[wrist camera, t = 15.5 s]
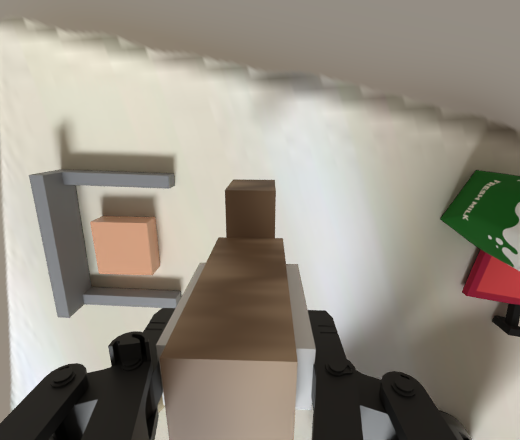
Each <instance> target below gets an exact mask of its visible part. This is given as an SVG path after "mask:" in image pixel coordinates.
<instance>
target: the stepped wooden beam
mask: <svg viewBox="0 0 520 440" xmlns="http://www.w3.org/2000/svg"><path fill="white" fill-rule="evenodd" d="M275 197H276V189H275V180H233V181H232V182H231V183H230V185H229V186H228V187H227V188H226V190H225V203H226V234H227V238H220V237H219V238H218V240H217V242H216V244H215V246H214V248H213V250H212V252H211V254H210V256H209V258H208V260H207V262H206V264H205V266H204V268H203V270H202V272H201V274H200V276H199V278H198V281H197V283H196V285H195V287H194V289H193V291H192V293H191V295H190V297H189V299H188V301H187V303H186V305H185V307H184V309H183V311H182V313H181V315H180V317H179V319H178V321H177V323H176V325H175V327H174V329H173V331H172V333H171V335H170V337H169V340H168V342H167V344H166V346H165V348H164V350H163V352H162V354H161V356H160V358H159V359H160V367H161V376H162V384H163V392H164V400H165V408H166V417H167V425H168V433H169V440H294V423H295V403H296V384H297V364H298V361H297V353H296V344H295V336H294V328H293V319H292V311H291V303H290V294H289V286H288V278H287V270H286V261H285V253H284V245H283V238H275Z"/></svg>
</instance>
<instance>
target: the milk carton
mask: <svg viewBox="0 0 520 440" xmlns="http://www.w3.org/2000/svg"><path fill="white" fill-rule="evenodd" d="M441 220H442V221H443V222H445V223H446V224H447V225H449V226H450V227H451V228H453V229H454V230H455V231H457V232H458V233H459V234H460V235H462V236H463V237H464V238H466V239H467V240H468V241H469V242H471V243H472V244H473V245H475V246H476V247H478V248H479V249H481V250H483V251H484V252H486V253H488V254H489V255H491V256H493V257H495V258H497V259H498V260H500V261H502V262H504V263H506V264H507V265H509V266H511V267H513V268H515V269H517V270H518V271H520V176H515V175H508V174H501V173H493V172H486V171H479V170H476V171H475V172H474V174H473V175H472V176H471V178H470V179H469V181H468V182H467V183H466V185H465V186H464V187H463V189H462V190H461V191H460V193H459V194H458V195H457V197H456V198H455V200H454V201H453V202H452V204H451V205H450V206H449V208H448V209H447V210H446V212H445V213H444V215H443V216H442V217H441Z"/></svg>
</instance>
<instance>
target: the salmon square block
mask: <svg viewBox="0 0 520 440" xmlns="http://www.w3.org/2000/svg"><path fill="white" fill-rule="evenodd" d="M90 224H91V230H92V235H93V241H94V247H95V253H96V259H97V265H98V271H99V274H129V275H153V274H154V273H155V271H156V270H157V269H158V268H159V267H160V259H159V250H158V240H157V230H156V220H155V217H125V216H102V217H100V218H98V219H95V220H93V221H91V222H90Z"/></svg>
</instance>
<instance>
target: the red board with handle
mask: <svg viewBox="0 0 520 440" xmlns="http://www.w3.org/2000/svg"><path fill="white" fill-rule="evenodd" d="M462 293H464V294H465V295H466V296H470V297H476V298H481V299H487V300H493V301H499V302H504V303H509V304H508V309H507V314H506V317H500V316H494V318H493V320H492V322H493V323H495V324H496V325H497V326H498V327H499V328H501V329H502V330H503V331H504V332H505V333H507V334H508V335H512V336H518V337H520V327H519V326H518V323H519V319H520V271H518V270H517V269H515V268H513V267H511V266H509V265H507V264H506V263H504V262H502V261H500V260H498V259H497V258H495V257H493V256H491V255H489V254H488V253H486V252H484V251H483V250H481V249H480V251H479V254H478V256H477V258H476V261H475V263H474V265H473V267H472V270H471V272H470V274H469V277H468V279H467V281H466V284H465V286H464V288H463V291H462Z"/></svg>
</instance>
